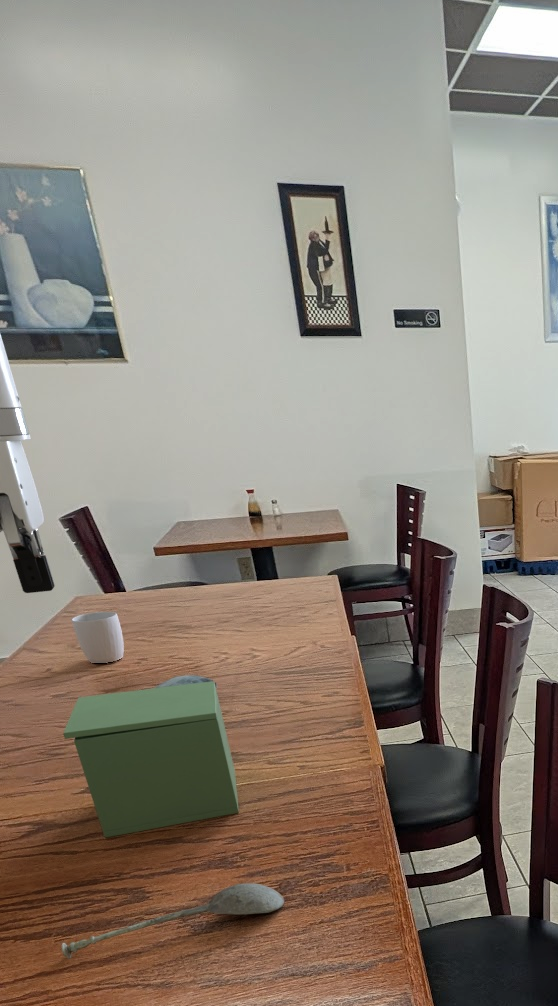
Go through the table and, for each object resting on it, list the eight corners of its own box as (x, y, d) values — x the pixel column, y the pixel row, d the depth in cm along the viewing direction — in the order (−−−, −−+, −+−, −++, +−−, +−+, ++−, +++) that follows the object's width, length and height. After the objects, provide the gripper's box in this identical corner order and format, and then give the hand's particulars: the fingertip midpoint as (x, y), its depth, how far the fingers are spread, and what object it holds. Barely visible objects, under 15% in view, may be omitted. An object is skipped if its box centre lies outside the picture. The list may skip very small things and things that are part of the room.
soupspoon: (289, 920, 91) (281, 894, 96) (285, 893, 89) (276, 868, 95) (62, 974, 82) (67, 941, 87) (54, 945, 81) (59, 914, 86)
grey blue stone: (141, 711, 152) (135, 686, 150) (185, 691, 162) (180, 667, 160) (180, 716, 150) (174, 690, 148) (222, 695, 160) (217, 670, 158)
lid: (64, 739, 101) (62, 733, 101) (79, 702, 114) (78, 697, 114) (217, 718, 107) (215, 712, 107) (215, 686, 120) (214, 680, 119)
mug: (125, 663, 182) (113, 618, 177) (80, 668, 179) (67, 623, 175) (133, 648, 193) (122, 606, 188) (91, 653, 190) (79, 610, 186)
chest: (104, 838, 108) (73, 740, 102) (114, 793, 120) (87, 704, 114) (239, 813, 113) (217, 718, 107) (235, 772, 126) (215, 686, 120)
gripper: (-34, 427, 98) (16, 583, 106) (-69, 430, 85) (-9, 606, 93) (37, 424, 100) (81, 576, 108) (14, 427, 87) (65, 599, 95)
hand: (39, 590), depth 101 cm, fingers closed
